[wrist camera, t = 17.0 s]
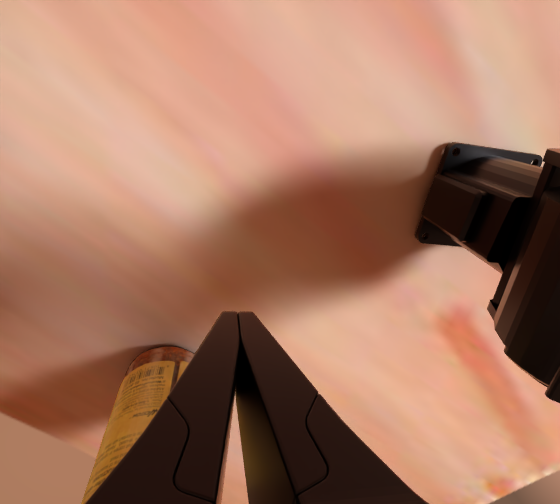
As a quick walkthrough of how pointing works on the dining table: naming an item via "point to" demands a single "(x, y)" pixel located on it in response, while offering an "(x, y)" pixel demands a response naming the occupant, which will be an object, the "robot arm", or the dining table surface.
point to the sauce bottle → (137, 406)
